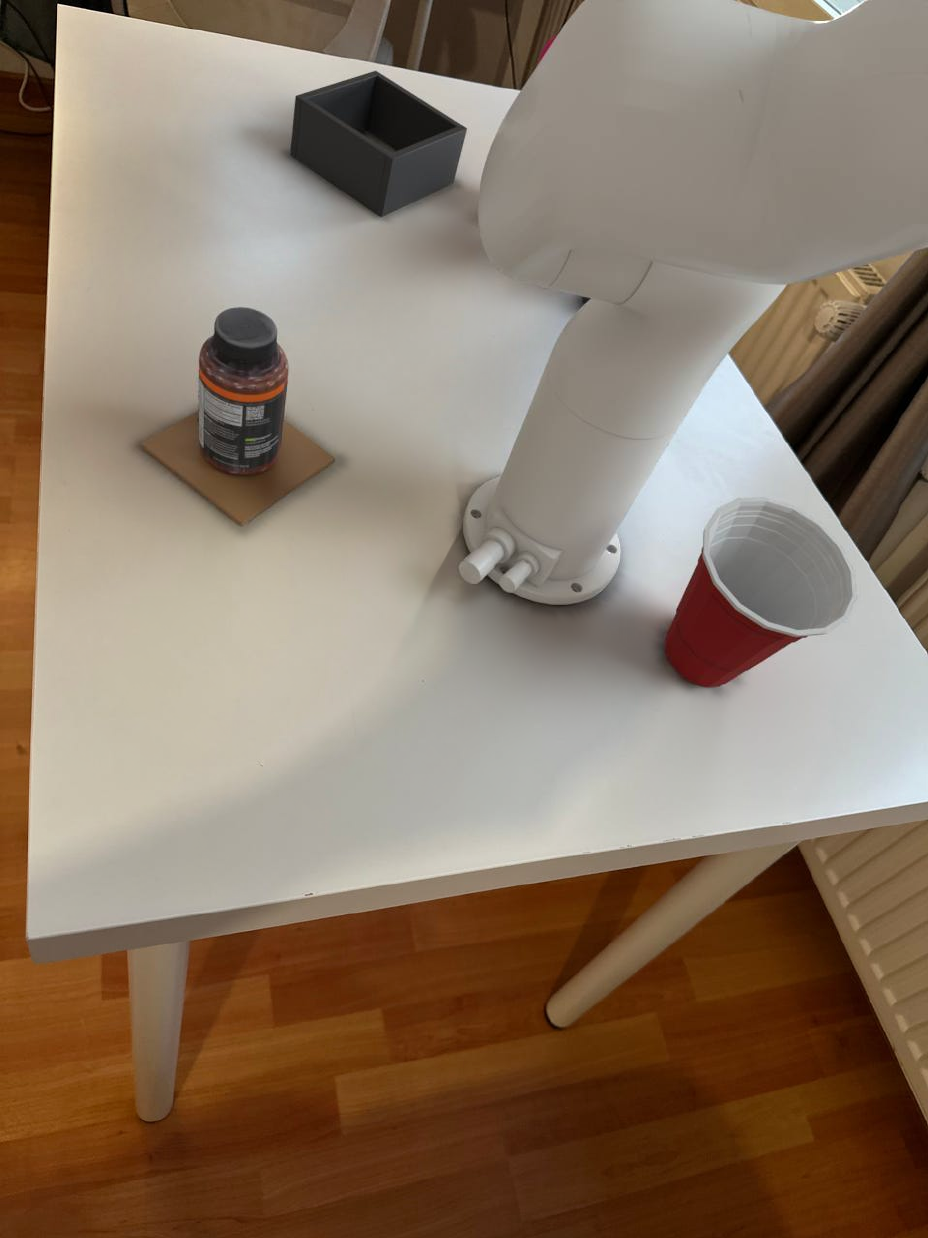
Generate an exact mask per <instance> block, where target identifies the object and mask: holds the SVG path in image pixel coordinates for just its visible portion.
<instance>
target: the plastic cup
mask: <svg viewBox="0 0 928 1238" xmlns="http://www.w3.org/2000/svg"><path fill="white" fill-rule="evenodd" d="M857 600H858V589H857V577H856V570H855V569H854V567H853V564H852V563H851V561H850V559H849V557H848V554H847V553H846V551H845V549H844V547H843V545H842V544H841V543H840V542H839V540H837V539H836V537H834V535H833V534H832V533H831V532H830V531H829V530H828V529H827V528H826V527H825V526H824V525H823V524H822V523H821V521H819V520H817V519H815V518H814V517H812V516H811V515H809V514H808V513H806V512H804V511H803V510H801V509H799V508H798V507H796V506H795V505H793V504H789V503H786V502H782V501H779V500H776V499H773V498H769V497H765V496H760V497H759V496H754V497H737V498H735V499H733V500H731V501H728V502H727V503H725V504H723V505H721V506H719V507H717V508H716V509H715V511H714V512H713V514H712V515H711V517H710V518H709V520H708V521H707V523H706V525H705V526H704V528H703V532H702V547H701V551H700V555H699V557H698V559H697V564H696V565H695V568H694V570H693V572H692V574H691V577H690V579H689V581H688V583H687V585H686V588H685V590H684V591H683V594H682V596H681V598H680V600H679V603H678V605H677V607H676V609H675V614H674V617H673V618H672V621H671V623H670V625H669V626H668V629H667V631H666V636H665V639H664V646H665V647H664V652H665V655H666V657H667V659H668V662H669V664H670V665H671V667H673V669H674V670H675V671H676V672H677V673H678V675H680V676H681V677H683V678H684V679H685V680H687V681H689V683H692V684H694V685H697V686H701V687H704V688H715V687H721V686H722V685H726V684H728V683H729V682H731V681H733V680H734V679H736V678H738V677H739V676H741V675H742V674H743V673H745V672H748V671H750V670H752V669H753V668H755V667H756V666H758V665H759V664H761V663H762V662H765V661H766V660H767V659H768V658H771V657H772V656H773V655H775V654H777V653H778V652H780V651H782V650H783V649H785V648H786V647H788V646H790V645H791V644H792V643H793V644H794V643H797V642H799V641H800V640H801V639H806V638H808V637H811V636H822V635H823V636H824V635H826V634H828V633H830V632H831V631H833V630H834V629H836V628H837V627H839V626H841V625H842V624H844V623H846V622H847V621H848V620H849V618H850V616H851V614H852V611H853V609H854V607H855V605H856V603H857Z"/></svg>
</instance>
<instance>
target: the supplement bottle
mask: <svg viewBox="0 0 928 1238" xmlns="http://www.w3.org/2000/svg"><path fill="white" fill-rule="evenodd" d="M213 326H214V327H213V335H211V336H210V337H208V338H207V339H206V340H205V341H204V343H203V344H202V345H201V347H200V349H199V356H198V390H197V391H198V394H197V395H198V411H199V418H198V419H197V421H198V420H199V424H198V425H199V433H198V434H199V446H200V449H201V452H202V454H203V456H204V458H205V459H206V460H207V461H208V462H209V463H210V464H211V465H212V466H214V467H215V468H217V469H218V470H221V471H223V472H225V473H229V474H233V475H243V476H244V475H253V474H257V473H260V472H263V471H265V470H267V469H269V468H270V467H271V466H272V465H273V464H274V463H275V462H276V460H277V459H278V456H279V453H280V449H281V442H282V432H283V422H284V420H285V411H286V403H287V402H286V401H287V392H288V383H289V372H290V371H289V370H290V369H289V360H288V357H287V354H286V353H285V350H284V349H283V348H282V347H281V345H280V344H279V343H278V328H277V325H276V323H275V321H274V320H273V319H272V317H270V316H269V315H267V314H266V313H264V312H262V311H260V310H257V309H255V308H252V307H246V306H245V307H243V306H237V307H231V308H227V309H225V310H223V311H222V312H220V313H219V314H218V315H217V316H216V318H215V320H214V325H213Z"/></svg>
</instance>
